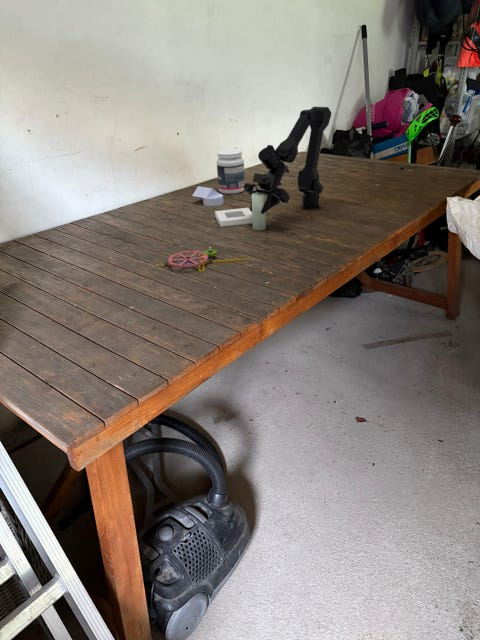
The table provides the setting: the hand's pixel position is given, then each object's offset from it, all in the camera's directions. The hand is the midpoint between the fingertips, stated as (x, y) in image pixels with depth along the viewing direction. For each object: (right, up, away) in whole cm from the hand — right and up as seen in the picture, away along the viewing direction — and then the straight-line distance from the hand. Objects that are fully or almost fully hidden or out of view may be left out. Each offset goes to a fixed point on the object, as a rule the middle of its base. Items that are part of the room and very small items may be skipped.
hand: (256, 212), depth 188 cm
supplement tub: (-10, +22, +54) cm, 59 cm away
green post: (+1, -5, +4) cm, 7 cm away
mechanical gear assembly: (-19, -22, -23) cm, 37 cm away
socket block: (-8, 0, +14) cm, 16 cm away
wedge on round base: (-20, +12, +39) cm, 45 cm away
